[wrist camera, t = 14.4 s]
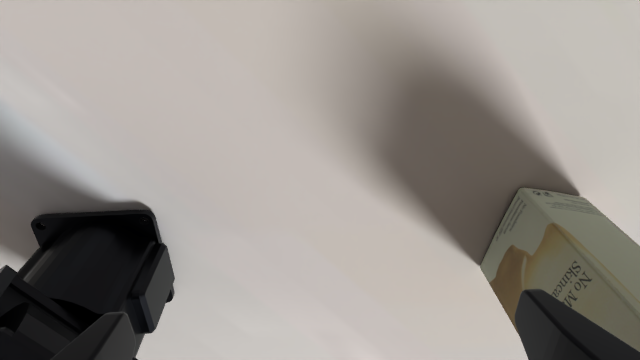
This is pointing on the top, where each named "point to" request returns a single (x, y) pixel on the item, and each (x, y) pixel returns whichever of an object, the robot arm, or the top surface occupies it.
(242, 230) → the top surface
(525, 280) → the skincare box
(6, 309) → the robot arm
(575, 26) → the top surface
